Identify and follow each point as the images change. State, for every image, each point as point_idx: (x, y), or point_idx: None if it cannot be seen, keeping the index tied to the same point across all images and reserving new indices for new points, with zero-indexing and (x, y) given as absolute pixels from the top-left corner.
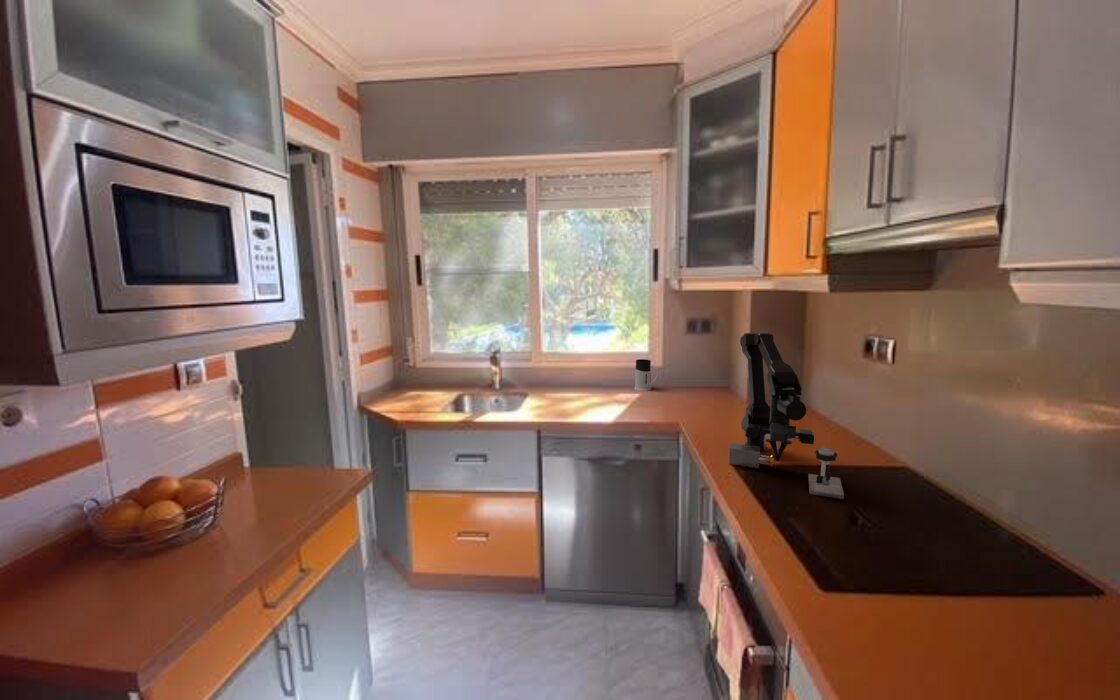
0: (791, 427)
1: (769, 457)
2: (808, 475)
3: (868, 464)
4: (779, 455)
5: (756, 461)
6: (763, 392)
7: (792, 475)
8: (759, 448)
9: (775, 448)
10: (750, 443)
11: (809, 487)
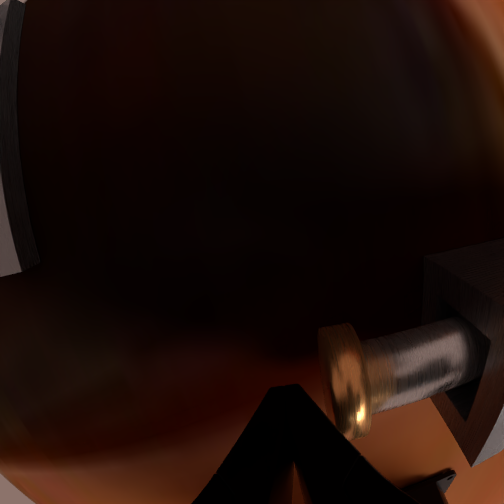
0: None
1: (376, 385)
2: (13, 237)
3: (23, 472)
4: (264, 432)
5: (474, 270)
6: None
7: (128, 246)
8: (494, 430)
9: (339, 500)
10: (443, 501)
11: (7, 35)
